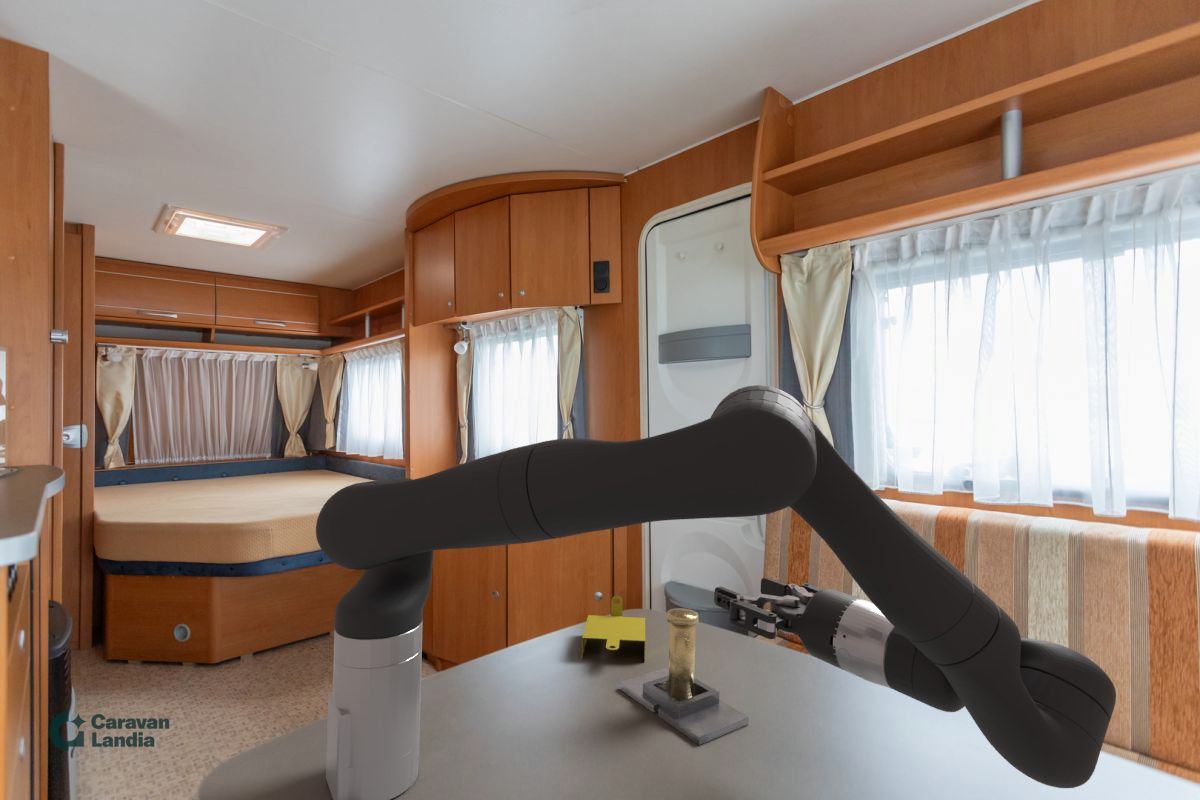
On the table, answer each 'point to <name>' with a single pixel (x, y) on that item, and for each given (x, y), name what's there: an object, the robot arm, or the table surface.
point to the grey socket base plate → (685, 707)
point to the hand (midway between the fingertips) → (740, 589)
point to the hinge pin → (681, 652)
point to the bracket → (614, 627)
